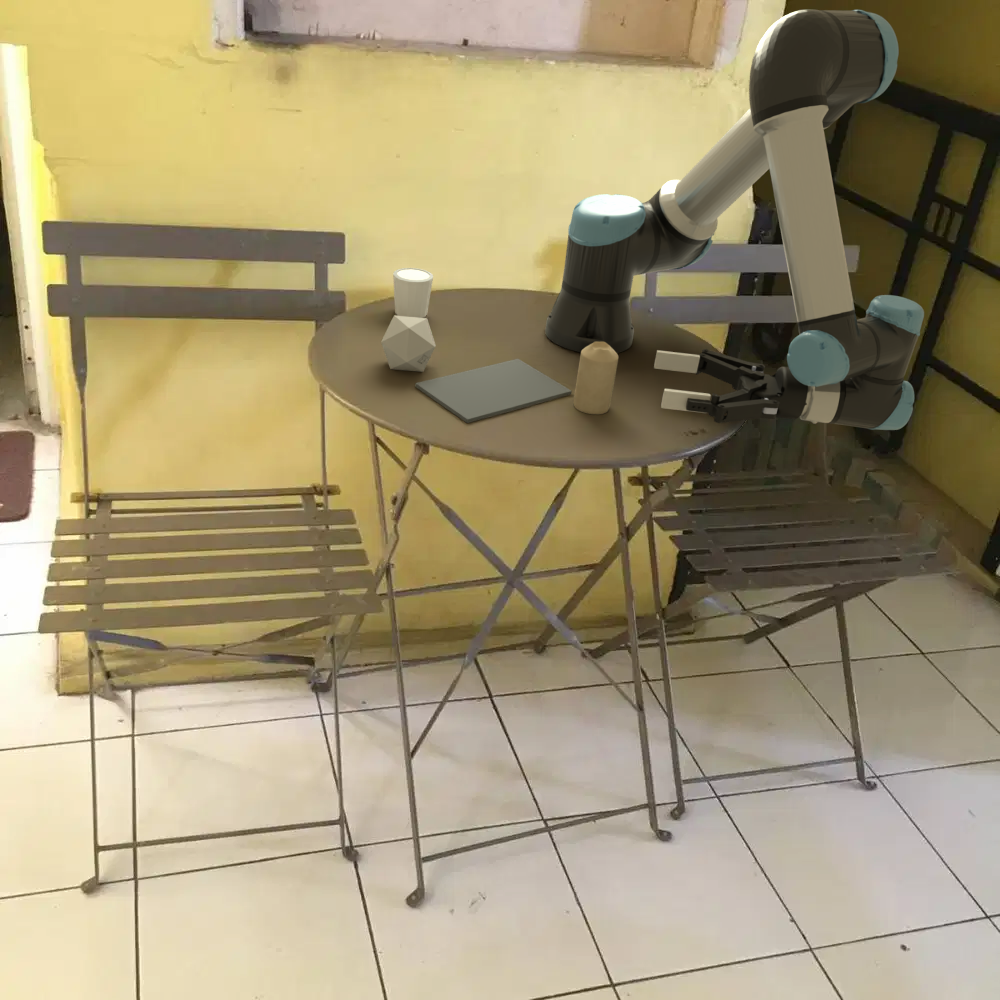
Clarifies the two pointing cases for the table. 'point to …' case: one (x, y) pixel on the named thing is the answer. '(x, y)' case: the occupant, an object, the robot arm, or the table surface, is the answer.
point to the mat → (492, 390)
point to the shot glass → (412, 292)
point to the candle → (595, 378)
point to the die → (408, 343)
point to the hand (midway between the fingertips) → (658, 378)
